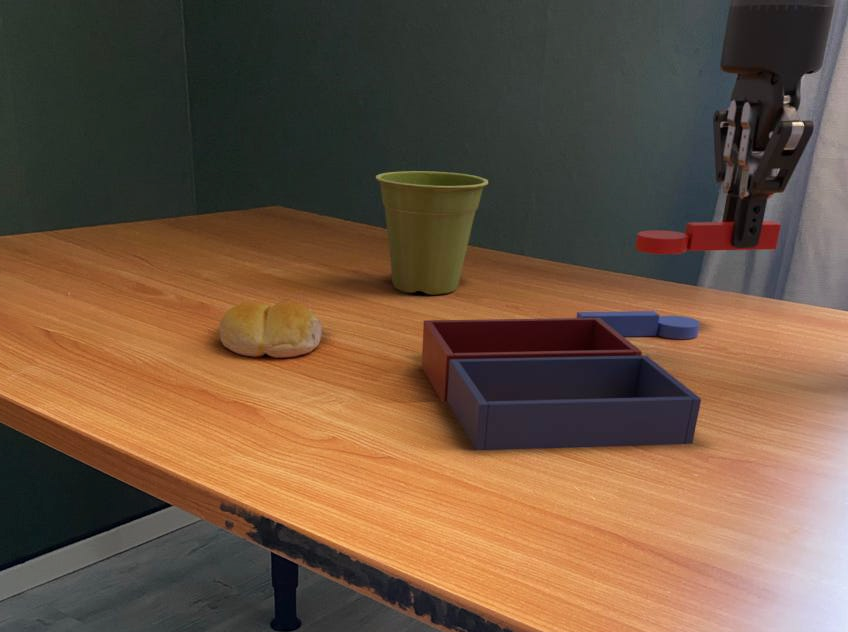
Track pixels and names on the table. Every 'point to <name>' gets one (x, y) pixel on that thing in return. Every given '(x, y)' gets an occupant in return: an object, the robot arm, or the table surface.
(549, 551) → the table surface
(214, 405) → the table surface
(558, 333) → the red bin
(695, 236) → the spoon red
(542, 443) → the blue bin
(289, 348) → the bread roll
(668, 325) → the spoon blue
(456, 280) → the plant pot
